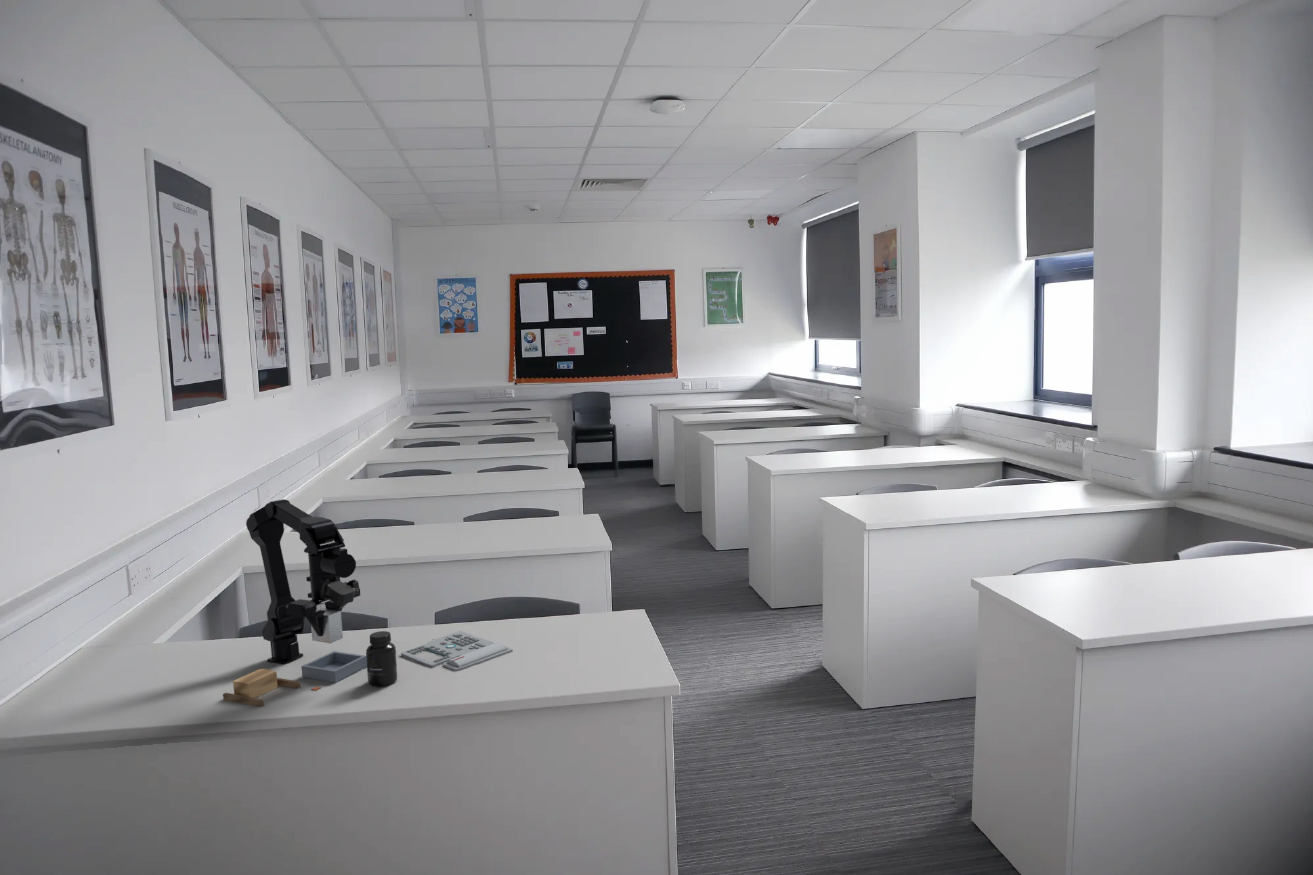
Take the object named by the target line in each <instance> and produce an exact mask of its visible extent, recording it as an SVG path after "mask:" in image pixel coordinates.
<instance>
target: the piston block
mask: <svg viewBox="0 0 1313 875" xmlns="http://www.w3.org/2000/svg"><path fill="white" fill-rule="evenodd" d="M277 678H278V674H277V670H271V669H267V668H260V669H257V670H255V671H253V672H251V673H248V674H245V675H244V676H241V677H239V678H237V679H235V680H233V681H232V684H233V685H232V686H233V692H234V693H233V694H236V695H242V696H247V697H253V698H258V697H260V696H263V695H265V694H266V693H268V692H271V691H272V690H275V689H277V688H278V686H279V685H278V684H277Z"/></svg>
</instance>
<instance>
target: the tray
mask: <svg viewBox="0 0 1313 875" xmlns="http://www.w3.org/2000/svg"><path fill="white" fill-rule="evenodd" d="M300 668H301V676H302V679H309V680H314V681H321V682H327V683H332V684H333V683H334V684H337V683H339V682H341V681H343V680H344V679H347V678H349V677H352V676H353V675H355V674H356V673H359V672H361V671H362V669H363V670H364V669H367V659H366V654H365V655H363V654H357V653H356V654H355V653H349V652H344V651H342V652H341V651H336V650H333V651H331V652H329V653H327V654H325V655H322V656H319V657H318V658H316V659H314V660H312V661H310V662H307V663H305V664H303V665H301V667H300ZM358 671H359V672H358Z"/></svg>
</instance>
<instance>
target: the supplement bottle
mask: <svg viewBox="0 0 1313 875" xmlns="http://www.w3.org/2000/svg"><path fill="white" fill-rule="evenodd" d="M391 634H392V633H391V632H390V631H387V630H383V631H382V630H381V631H375V632H372V633H371V634H370V635H369V645H368V646H367V648H366V649H365V650H366V651H365V656H366V659H367V668H366V673H367V674H366V675H367V684H368V685H369V686H371V687H373V688H374V687H375V688H381V687H388V686H391V685H393V684H395V683H396V682H397V680H398V668H397V666H398V664H397V650H396V645H395V644H394V643H393V642H391V641H392V637H391Z"/></svg>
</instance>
